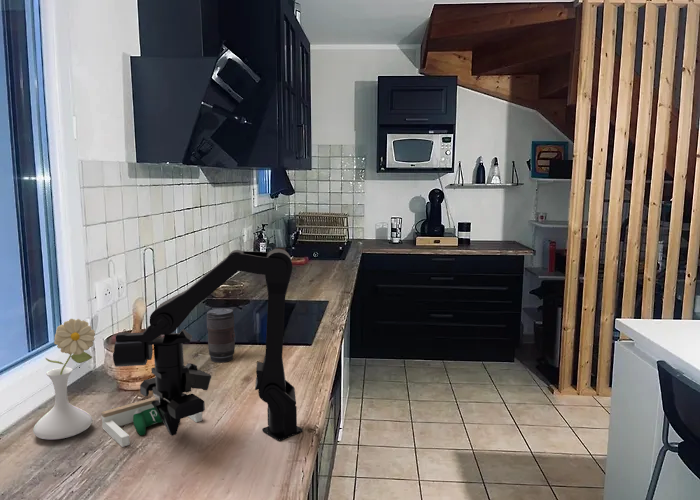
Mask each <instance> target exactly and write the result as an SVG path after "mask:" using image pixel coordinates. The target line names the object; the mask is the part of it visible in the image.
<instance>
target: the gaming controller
mask: <svg viewBox="0 0 700 500" xmlns="http://www.w3.org/2000/svg"><path fill="white" fill-rule="evenodd" d="M132 423H133V427H134V429H135V431H136V432H137V433H138V434H139V435H140V436H145V435H146V431H147V430H146V429H147V428H149V427H151V426H152V425H155V424H161V423H163V421H162V419H161V418H160V416H159V414H158V413H157V411H156V409H155V408H150V409H147V410H144V411H142V412H141V409H138V410H137V411H136V412H135V413H134V415H133V422H132Z"/></svg>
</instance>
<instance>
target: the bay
mask: <svg viewBox="0 0 700 500" xmlns="http://www.w3.org/2000/svg"><path fill="white" fill-rule="evenodd" d="M153 401H155V396H154V397H150V398H146V399H143V400H139V401H136V402H132V403H128V404H125V405H122V406H118V407H114V408H111V409H107V410H104V411H101V423H102V424H101V425H102V427H101V428H102V429H103V430H104V431H105V432H106V433H107V434H108V436H110V437H111V438H112V439H113V440H114V441H115V442H116V443H117V444H118V445H120V447H122V448H124V447H126V446H130V435H129V433H127V432H126V431H125V430H123V429H122V428H121V426H125V425H129V424H131V423H133V415H134V413H135V412H136V411H137V410H138V409H141V412H142V411H144V410H147V409H150V408H154V406H153V405H152V402H153ZM188 418H189V419H191V421H194V422H195V423H199V422H201V421H203V412H200V413H197V414H194V415H191V416H188Z"/></svg>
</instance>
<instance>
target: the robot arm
mask: <svg viewBox="0 0 700 500" xmlns="http://www.w3.org/2000/svg"><path fill="white" fill-rule="evenodd" d="M238 272H245V273H250V274H255V275H264V277H265V283H266V289H267V313H266V314H267V315H266V334H265V335H266V337H265V353H264V357H263V362H261V361H257V362H256V371H255V373H256V377H255V387H254V390H255V391H258V392H257V394H258V396H259V398H260V399H261V400H262V401H263V402H264V403H266V405H267V408H266V409H267V426H265V427H263V428H262V430H261V432H263V433H265V434H267V435H268V436H270V437H272V438H273V439H275V440H277V441H283V440H285V439H287V438H290V437H292V436H296V435H297V434H300V433H302V432H303V431H304V430H303V428H302V427H300V426H298V423H297V421H298V418H297V417H298V414H297V410H298V409H297V399H296V391H295V390H296V389H295V387H294V385H292V383H290V382H289V381H288V380H286V375H285V374H286V373H285V367H284V362H283V361H284V360H283V348H284V329H285V328H284V327H285V326H284V325H285V308H286V295H287V291H288V287H289V284H290V280H291V276H292V272H293V260H292V258H291V255H290V254H289V252H287V251H286V250H284V249H281V248H274V249H272V250H270V251H254V250H253V251H251V250H250V251H247V250H246V251H245V250H240V249H234V250H232V251H230V252H229V253H228V255H227V256H226V257H225V258H224V259H222V261H220V262H219V263H218V264H217V265H215V266H214V267H213V268H212V269H210V270H209V271H208V272H207V273H206V274H204V275H203V276H202V277H201V278H200V279H198V280H197V281H196V282H195V283H193V284H192V285H191V286H190V287H188V288H186V290H184V291H182V292H180V293H178V294H176V295H174V296H172V297H170V298H168V299H166V300H164V301H163V302H161V303H160V304H159V305H158V306H157V307H156V308H155V309H154V311H153V312H152V313H151V314H150V316H149V324H150V325H148V326H147V327H146V328H145V330H144V331H143V332H118V333H117V334H115V343H114V347H113V353H112V358H113V359H112V361H113V365H114V366H115V367H117V368H119V367H135V366H146V365H147V363H148V361H151V360H152V359H154V367H151V368H150V370H151V373H152V374H153V375H154V376H155V377H150V378H148V379H144V380H143V381H142V382H141V384H139V390H140V394H141V395H142V396H143V397H148V396H149V395H150V392H151V391H152V395H153V396H154V397H155V401H153V402H152V405H153V406H154V408H155V409H156V411H157V413H158V414H159V416H160V418H161V419H162V421H163V422H162V423H163V424H164V426H165V428H166V429H167V432H168V434H169V435H171V436H174V435H175V436H176V435H177V433H178V430H179V426H180V422H181V420H182V419H183V418H187V417H188V416H191V415H194V414H197V413H200V412H202V413H203V412H204V411H205V410H206V407H205V406H206V405H205V400H204V399H202V398H201V397H199V396H198V395H195V394H194V393H193V392H192V389H199V390H203V391H208V390H209V387H210V382H211V379H212V375H211V374H210V373H207V372H205V371H204V370H201V369H198V366H197V365H196V364H195V363H190V362H187V364H186V365H185V361H184V344H190V342H191V341H192V338H193V335H192V334H190V333H189V332H187V330H186V329H185V328H183V329H181V331H179V332H177V333H176V330H177V329H178V328H179V327H180V326H181V324H182V323H183V322H184V321H185V320H186V319H187V317H188V316H189V315H190V314H191V313H192V312H193V310H194V309H195V308H196V307H197V306H198V305H199V304H200V303H201V302H203V301H204V300H206V298H208V297H209V296H210V295H212V294H213V293H214V292H215V291H216V290H217V289H218V288H220V287H221V286H222V285H223V284H224V283H226V282H227V281H229V280H230V279H231V278H232V277H233V276H235V275H236V274H237V273H238ZM162 335H164V336H162ZM160 336H162V337H160ZM190 392H192V393H190ZM188 393H189V394H188ZM188 418H189V417H188Z"/></svg>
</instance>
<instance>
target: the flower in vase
mask: <svg viewBox="0 0 700 500" xmlns="http://www.w3.org/2000/svg"><path fill="white" fill-rule="evenodd" d="M95 335H96V332H95V329H92V325H89V322H88V321H86V320H85V319H84V320H81V319H80V318H77V319H75V318H70V319H68V320H66V321H63V324H60V325H58V326H57V327H56V330H55V334H54V342H53V344H54V345H56V346H57V349H60V352H61V353H62V354H63V353H65V354H68V358H67V359H66V360H65V362H62V361H59V360H58V361H57V360H52V359H48V358H47V357H45V360H46V361H47V362H49V363H55V364H60V365H62V367H58V368H57V367H56V368H53V369H50V370H48V371H47V372H45V375H46V376H47V377H48V378H49V379H50V380H51V383H52V385H53V388H54V397H55V402H54V405H53V407H52V408H51V409H50V410H49V411H48V412H47V413H45V414H44V415H43V416H42V417H41V418H39V420H38V421H36V423H35V425H34V427H33V429H32V432H33V434H34V436H36V437H37V438H39V439H42V440H63V439H65V438H66V439H67V438H70V437H74V436H76V435H78V434H81V433H82V432H85V431H86V430H87V429H88V428H89V427H90V426H91V425H92V423H93V418H92V416H91V414H90V413H88V412H87V411H86V410H84V409H81V408H80V407H77V406H75V405H73V404H72V403H70V402H69V398H68V381H69V378H70V375H71V373H72V372H73V370H74V369H73V368H72V367H67V364H68V363H69V361H70V360H73V361H74V362H75V363H77V364H82V363H85V362H86V361H89V360H91V359H93V356H92V355H91V354H89V353H88V352H86V351H88V350H89V349H90V348H92V347H93V346H94V341H95V339H96V338H95Z"/></svg>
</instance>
